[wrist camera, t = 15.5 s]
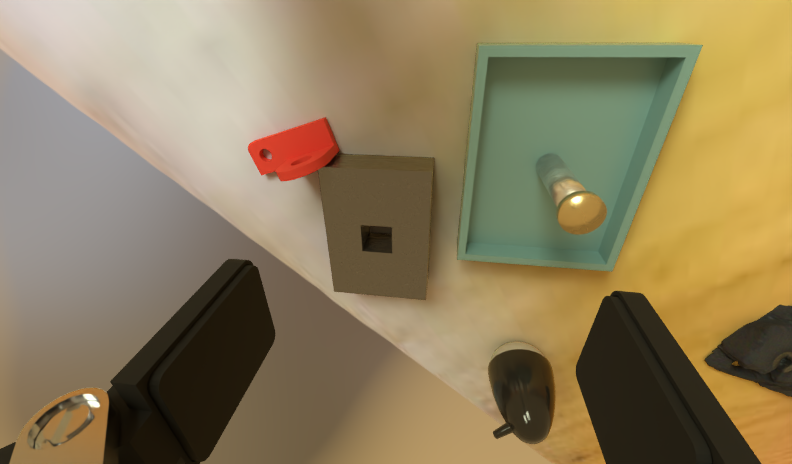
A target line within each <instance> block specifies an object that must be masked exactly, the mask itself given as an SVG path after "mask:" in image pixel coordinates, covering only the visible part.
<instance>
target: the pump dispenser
mask: <svg viewBox="0 0 792 464" xmlns="http://www.w3.org/2000/svg"><path fill="white" fill-rule="evenodd" d="M488 375H489V381H490V385H491V389H492V392H493V396H494V398H495V401H496V404H497V406H498V408H499V411H500V413H501V415H502V416H503V418H504V420H505V422H506V423H505V424H504V425H502V426H501V427H499V428H498V429H496V430H495V431H493V434H494V437H495V438H496V439H498V438H500V437H503V436H505V435H507V434H510V433H514V434H515V435H516V436H517V437H518V438H519V439H520V440H521V441H523V442H525V443H529V444H536V443H540V442H542V441H543V440H544V439H545V438H546V437H547V436H548V434H549V432H550V429H551V426H552V422H553V417H554V410H555V383H554V375H553V371H552V367H551V364H550V362H549V361H548V360H547V359H546V358H545V357H544V355H543V354H542V353H541V352H540V351H539V350H538V349H537V348H536V347H534V346H532V345H530V344H528V343H524V342H509V343H506V344H504V345H502V346H500V347H499V348H498V349H497V350H496V351H495V352H494V354H493V356H492V358H491V361H490V363H489V366H488Z"/></svg>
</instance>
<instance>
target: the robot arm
mask: <svg viewBox="0 0 792 464" xmlns="http://www.w3.org/2000/svg"><path fill="white" fill-rule="evenodd" d="M274 339H275V329H274V325H273V322H272V318H271V314H270V311H269V307H268V303H267V300H266V296H265V292H264V289H263V285H262V281H261V278H260V274H259V270H258V268H257V267H256V266H253V263H252V262H251V261H249V260H239V259H228V260H227V261H225V263H223V265H222V266H221V267H220V268H219V269H218V270H217V271H216V272H215V273H214V274H213V275H212V276H211V277H210V278H209V279H208V280H207V281H206V282H205V283H204V284H203V285H202V286H201V287H200V289H199V290H198V291H197V292H196V293H195V294H194V295H193V296H192V297H191V298H190V299H189V300H188V301H187V302H186V303H185V304H184V305H183V306H182V307H181V308H180V309H179V311H178V312H177V313H176V314H175V315H174V316H173V317H172V318H171V319H170V320H169V321H168V322H167V323H166V324H165V325H164V326H163V327H162V328H161V329H160V330H159V331H158V332H157V333H156V334H155V335H154V337H152V339H151V340H150V341H149V342H148V343H147V344H146V345H145V346H144V347H143V348H142V349H141V350H140V351H139V352H138V353H137V354H136V355H135V356H134V357H133V358H132V359H131V360H130V362H129V363H128V364H127V365H126V366H125V367H124V368H123V369H122V370H121V371H120V372H119V373H118V374H117V375H116V376H115V377H114V378H113V379H112V380H111V384H112V385H113V386H112V387H111V388H110V389H109V390H108V391H107V393H106V392H105V391H104V390H103V389H99V388H83V389H79V390H76V391H72V392H70V393H68V394H66V395H63V396H61V397H59V398H57V399H56V400H54V401H53V402H51V403H49V404H48V405H46V406H45V407H43V408H42V409H41V410H40V411H39V412H38V413H36V414H35V415H34V416H33V417H32V418H31V419H30V420H29V421H28V423H27V424H26V425H25V426H24V427H23V429H22V431H21V432H20V434H19V436H18V439H17V441H16V442H14V443H12V444H10V445H8V446H6V447H4V448H1V449H0V464H200V462H202V461H205V460H206V459H207V458H208V457H209V456H210V454H211V452H212V451H213V449H214V447H215V445H216V444H217V442H218V440H219V438H220V437H221V435H222V433H223V431H224V429H225V428H226V426H227V424H228V422H229V420H230V419H231V417H232V415H233V414H234V412H235V410H236V408H237V406H238V405H239V403H240V401H241V399H242V397H243V395H244V394H245V392H246V391H247V389H248V387H249V385H250V383H251V382H252V380H253V378H254V376H255V374H256V373H257V371H258V369H259V368H260V366H261V364H262V362H263V360H264V359H265V357H266V355H267V353H268V352H269V350H270V348H271V346H272V345H273V342H274ZM576 377H577V380H578V383H579V386H580V389H581V392H582V395H583V398H584V401H585V404H586V407H587V410H588V413H589V415H590V418H591V421H592V424H593V427H594V430H595V433H596V436H597V439H598V442H599V445H600V447H601V450H602V453H603V456H604V459H605V462H606V464H761V462H760V461H759V460H758V458H757V457H756V455H755V454H754V452H753V451H752V449H751V448H750V447H749V445H748V444H747V442H746V441H745V439H744V438H743V437H742V435H741V434H740V432H739V431H738V429H737V428H736V426H735V425H734V424H733V422H732V421H731V419H730V418H729V416H728V415H727V414H726V412H725V411H724V409H723V408H722V406H721V405H720V403H719V402H718V401H717V399H716V398H715V396H714V395H713V393H712V392H711V391H710V389H709V388H708V386H707V385H706V383H705V382H704V380H703V379H702V378H701V376H700V375H699V373H698V372H697V370H696V369H695V368H694V366H693V365H692V363H691V362H690V360H689V359H688V357H687V356H686V355H685V353H684V352H683V350H682V349H681V347H680V346H679V345H678V343H677V342H676V340H675V339H674V337H673V336H672V334H671V333H670V332H669V330H668V329H667V327H666V326H665V324H664V323H663V322H662V320H661V319H660V317H659V316H658V314H657V313H656V311H655V310H654V309H653V307H652V306H651V304H650V303H649V301H648V300H647V299H646V297H645V296H644V295H643V294H641V293H635V292H623V291H614V292H613V293H612V294H611V295H610V296H605V297H604V299H603V300H602V303H601V305H600V308H599V310H598V313H597V315H596V318H595V320H594V323H593V325H592V328H591V330H590V333H589V335H588V338H587V340H586V342H585V345H584V347H583V350H582V352H581V355H580V357H579V360H578V362H577V365H576Z"/></svg>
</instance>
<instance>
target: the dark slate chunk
mask: <svg viewBox="0 0 792 464" xmlns="http://www.w3.org/2000/svg"><path fill="white" fill-rule="evenodd" d="M712 352H714V353H713V354H711V355H710V356H708V357H707V358H706V359H705V361H706V362H707V364H708V365H709V366H711V367H713V368H715V369H716V370H718V371H722V372H725V373H728V374H730V375H733V376H737V377H740V378H743V379H747V380H751V381H754V382H756V383H757V382H758V383H759V385H760V386H762V387H766V388H768V389H770V390H773V391H776V392H779V393H783V394H785V395H787V396H791V397H792V306H783V305H778V306H777V307H776V308H775V309H773V310H772V311H771V312H769V313H767V314H766V315H764V316H763V317H761V318H760V319H758V320H757V321H754V322H752V323H749V324H746V325H745V326H743V327H741V328H740V329H738V330H737V331H735V332H734V333H733V334H731V335H730V336H728V337H727V338H725V339H724V340H723V341H722V344H721V345H719V346H718V348H716V349H715V350H714V351H712ZM735 361H738V364H739V365H740V366H734V365H732V363H733V362H735Z"/></svg>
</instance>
